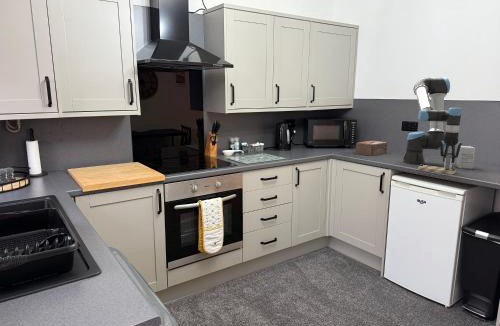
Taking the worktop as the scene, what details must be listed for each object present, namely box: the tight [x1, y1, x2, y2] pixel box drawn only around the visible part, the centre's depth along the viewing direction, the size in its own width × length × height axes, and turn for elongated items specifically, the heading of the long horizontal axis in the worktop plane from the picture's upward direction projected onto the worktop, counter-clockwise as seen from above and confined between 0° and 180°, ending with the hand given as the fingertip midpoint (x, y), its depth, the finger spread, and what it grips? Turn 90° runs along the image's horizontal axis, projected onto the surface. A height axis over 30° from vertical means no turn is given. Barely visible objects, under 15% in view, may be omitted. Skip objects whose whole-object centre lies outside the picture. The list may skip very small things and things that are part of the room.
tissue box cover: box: [355, 140, 389, 157], centre depth 306 cm, size 26×14×10 cm, turn 129°
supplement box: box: [455, 145, 476, 170], centre depth 248 cm, size 9×9×15 cm
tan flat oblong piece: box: [417, 164, 457, 175], centre depth 234 cm, size 21×10×3 cm, turn 46°
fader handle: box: [444, 151, 452, 170], centre depth 229 cm, size 2×4×11 cm, turn 136°
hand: (447, 167), depth 229 cm, fingers closed on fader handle, 2 cm apart
